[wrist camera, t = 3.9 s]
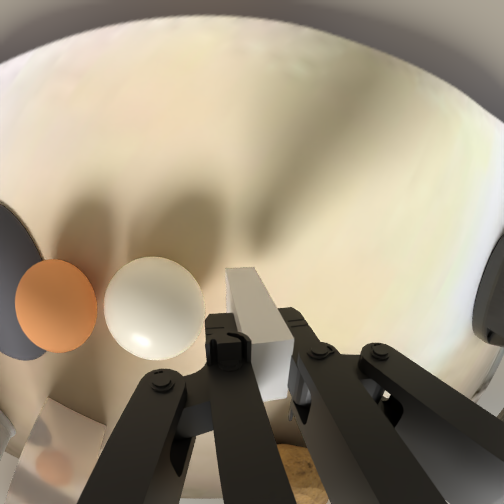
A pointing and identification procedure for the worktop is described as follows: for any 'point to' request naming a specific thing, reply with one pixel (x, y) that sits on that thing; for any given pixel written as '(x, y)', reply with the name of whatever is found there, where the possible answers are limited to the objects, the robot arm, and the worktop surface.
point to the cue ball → (154, 308)
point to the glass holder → (5, 432)
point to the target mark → (14, 285)
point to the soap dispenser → (56, 457)
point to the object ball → (56, 306)
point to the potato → (302, 475)
